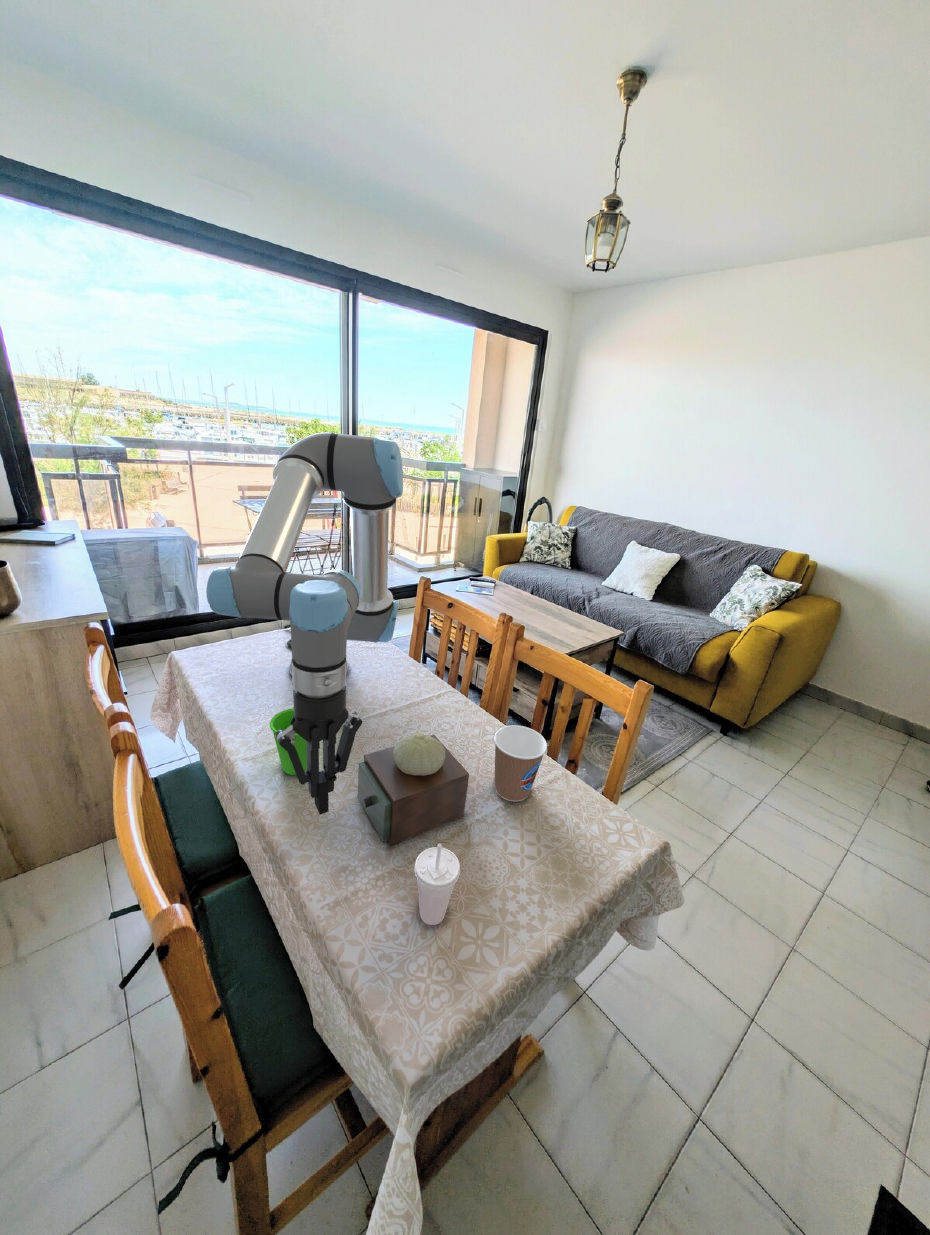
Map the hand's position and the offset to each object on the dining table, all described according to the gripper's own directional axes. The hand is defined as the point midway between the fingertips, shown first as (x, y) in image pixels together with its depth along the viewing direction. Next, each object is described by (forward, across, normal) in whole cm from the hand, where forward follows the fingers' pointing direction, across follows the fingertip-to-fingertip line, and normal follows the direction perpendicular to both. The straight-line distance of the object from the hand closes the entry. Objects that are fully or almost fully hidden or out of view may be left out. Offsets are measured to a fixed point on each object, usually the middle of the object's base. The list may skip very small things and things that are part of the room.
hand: (321, 807), depth 78 cm
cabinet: (+6, +17, -2) cm, 18 cm away
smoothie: (+6, +10, -22) cm, 24 cm away
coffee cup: (+6, +37, -6) cm, 38 cm away
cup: (+6, 0, +18) cm, 20 cm away
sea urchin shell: (-4, +17, -1) cm, 18 cm away
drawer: (+5, +14, -1) cm, 15 cm away
